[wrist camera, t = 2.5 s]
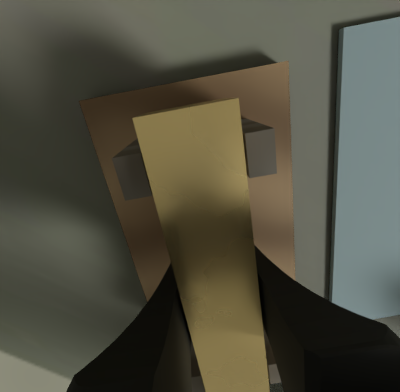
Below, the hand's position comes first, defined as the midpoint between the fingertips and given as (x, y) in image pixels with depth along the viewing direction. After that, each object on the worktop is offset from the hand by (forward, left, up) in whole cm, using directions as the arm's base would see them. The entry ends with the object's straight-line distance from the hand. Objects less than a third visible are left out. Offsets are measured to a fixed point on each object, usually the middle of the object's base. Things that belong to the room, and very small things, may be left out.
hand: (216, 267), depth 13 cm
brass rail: (0, 0, +2) cm, 2 cm away
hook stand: (0, 0, -3) cm, 3 cm away
